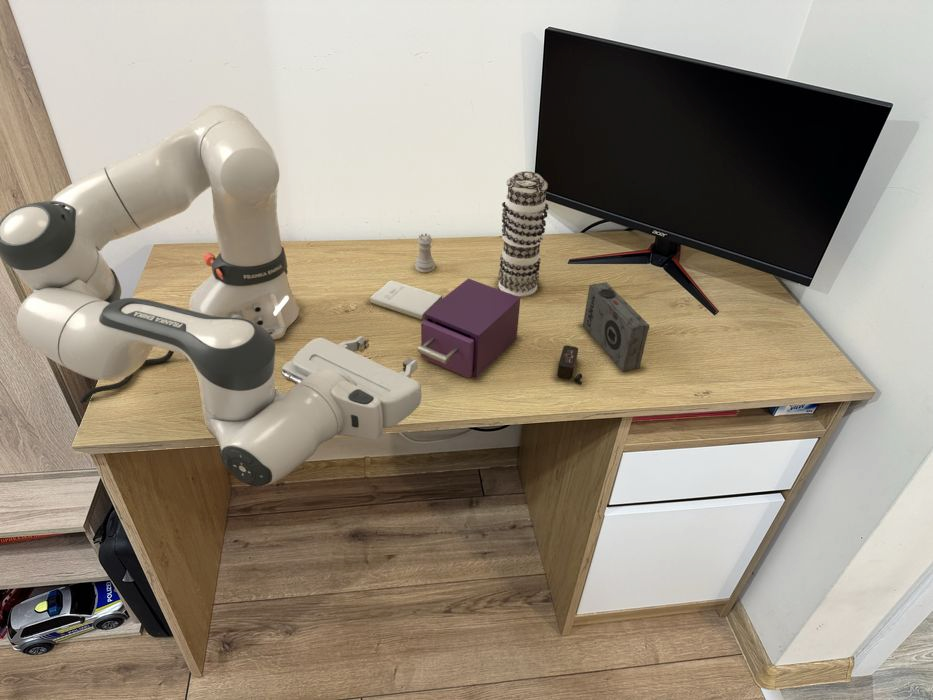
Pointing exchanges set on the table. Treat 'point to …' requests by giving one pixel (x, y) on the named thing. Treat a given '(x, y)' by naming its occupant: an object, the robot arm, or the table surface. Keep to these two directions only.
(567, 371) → the wireless earbuds
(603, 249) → the table surface
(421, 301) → the hard drive
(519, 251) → the decorative candle
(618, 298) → the camera
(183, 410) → the table surface
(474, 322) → the file cabinet
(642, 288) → the table surface
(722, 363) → the table surface
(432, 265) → the rook chess piece
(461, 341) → the drawer
